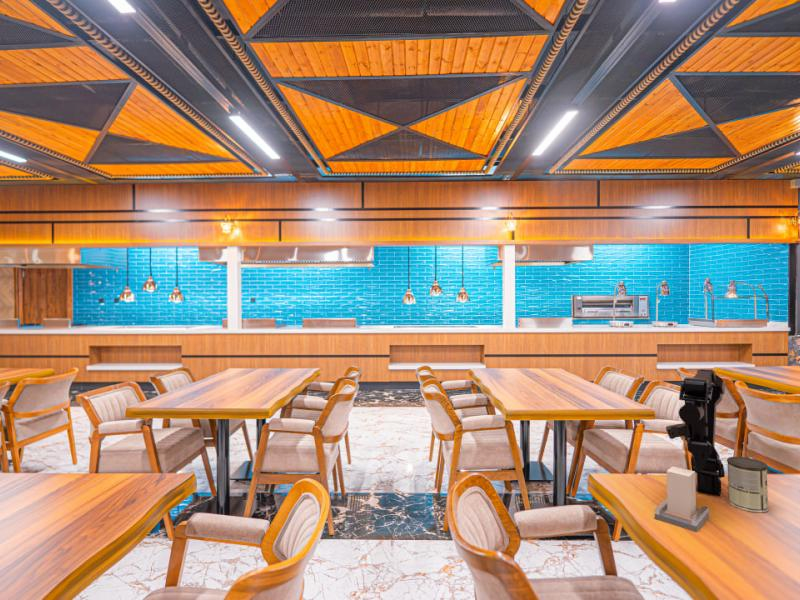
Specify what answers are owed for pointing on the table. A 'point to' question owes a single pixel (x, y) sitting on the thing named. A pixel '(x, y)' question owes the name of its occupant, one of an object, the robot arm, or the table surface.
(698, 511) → the display base
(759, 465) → the coffee can
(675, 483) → the cream block
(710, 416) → the robot arm
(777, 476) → the table surface
